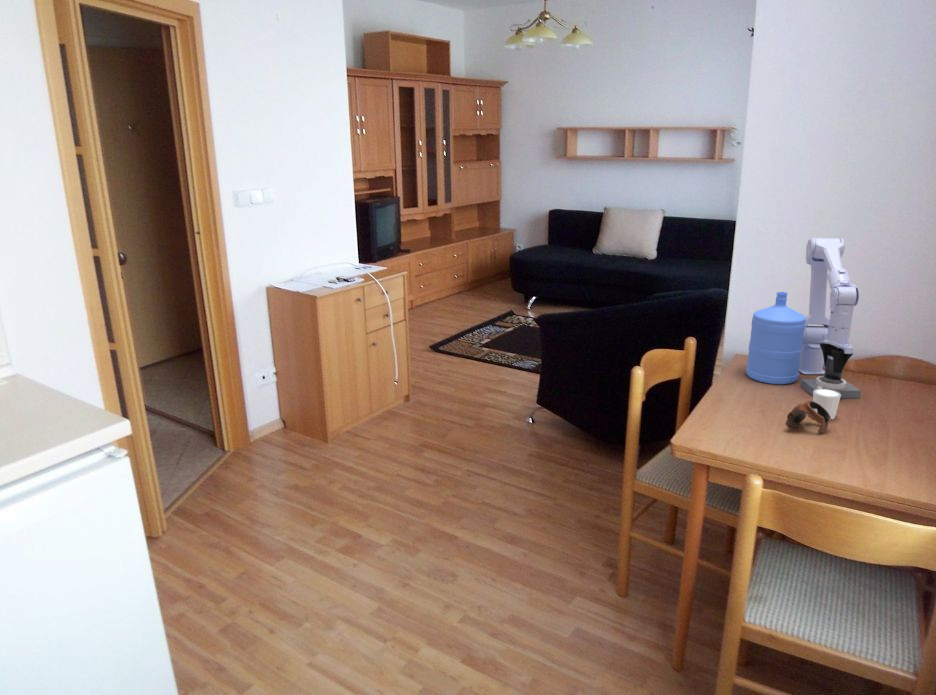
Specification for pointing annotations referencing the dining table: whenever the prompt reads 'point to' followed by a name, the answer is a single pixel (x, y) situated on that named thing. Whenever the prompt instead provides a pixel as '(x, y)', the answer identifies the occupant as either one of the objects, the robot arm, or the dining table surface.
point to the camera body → (831, 386)
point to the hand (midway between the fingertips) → (832, 369)
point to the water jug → (776, 343)
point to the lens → (831, 369)
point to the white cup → (827, 400)
